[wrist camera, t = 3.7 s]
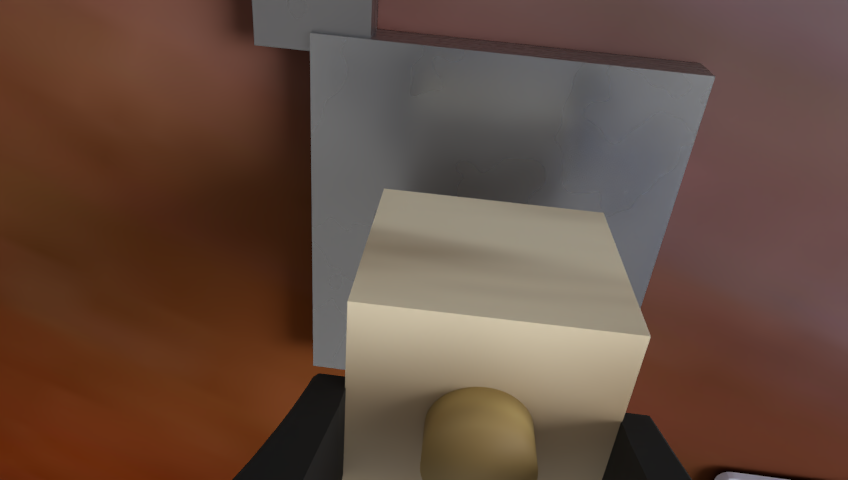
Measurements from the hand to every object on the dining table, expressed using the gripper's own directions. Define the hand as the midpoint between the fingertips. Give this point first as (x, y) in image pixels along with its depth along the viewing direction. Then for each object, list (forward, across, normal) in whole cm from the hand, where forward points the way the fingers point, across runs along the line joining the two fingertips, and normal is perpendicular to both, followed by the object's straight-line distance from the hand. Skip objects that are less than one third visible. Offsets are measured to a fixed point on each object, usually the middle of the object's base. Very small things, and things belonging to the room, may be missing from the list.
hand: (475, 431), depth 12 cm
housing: (+4, 0, 0) cm, 4 cm away
